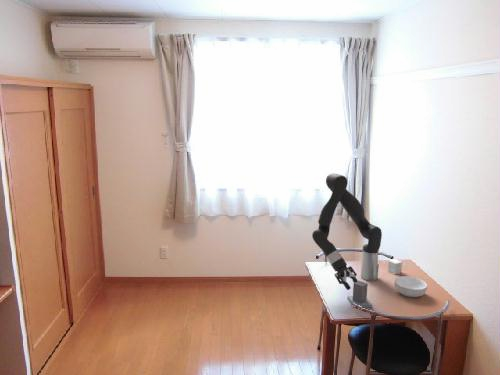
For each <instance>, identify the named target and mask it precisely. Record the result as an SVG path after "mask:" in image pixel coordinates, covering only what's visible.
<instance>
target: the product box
mask: <svg viewBox="0 0 500 375" xmlns="http://www.w3.org/2000/svg"><path fill="white" fill-rule="evenodd" d="M387 262H388V263H387V273H388V272H389V273H390V272H391V274H393V275H398V274H401V273H402V269H403V268H402V267H403V261H401V260H398V259H395V258H394V259H390V260H388V261H387Z"/></svg>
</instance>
